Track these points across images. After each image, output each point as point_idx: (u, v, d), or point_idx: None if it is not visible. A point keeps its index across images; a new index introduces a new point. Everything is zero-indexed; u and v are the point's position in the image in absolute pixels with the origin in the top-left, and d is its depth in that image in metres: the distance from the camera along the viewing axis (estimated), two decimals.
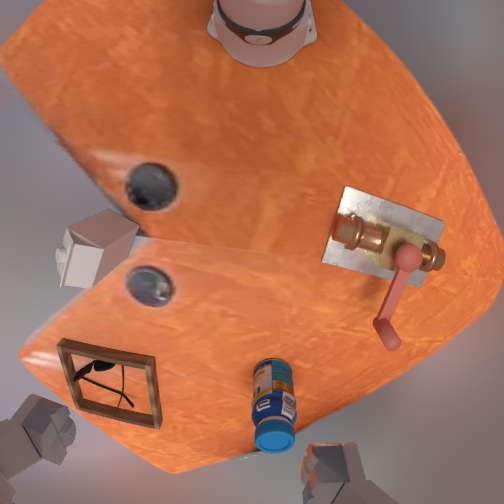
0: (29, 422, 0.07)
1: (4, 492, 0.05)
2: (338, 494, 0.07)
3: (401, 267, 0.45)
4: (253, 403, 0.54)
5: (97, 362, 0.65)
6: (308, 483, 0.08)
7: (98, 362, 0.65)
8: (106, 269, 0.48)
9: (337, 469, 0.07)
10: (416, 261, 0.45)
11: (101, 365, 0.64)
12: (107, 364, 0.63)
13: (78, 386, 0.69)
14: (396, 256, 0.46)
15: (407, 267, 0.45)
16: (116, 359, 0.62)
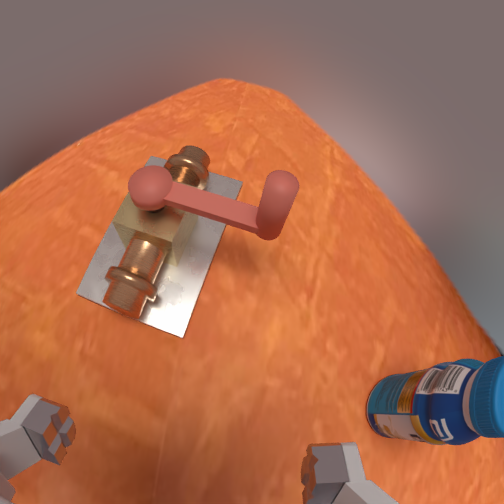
0: (29, 422, 0.07)
1: (4, 492, 0.05)
2: (338, 494, 0.07)
3: (160, 196, 0.29)
4: (439, 443, 0.21)
5: None
6: (308, 483, 0.08)
7: None
8: None
9: (337, 469, 0.07)
10: (155, 174, 0.30)
11: None
12: None
13: None
14: (145, 207, 0.29)
15: (162, 186, 0.29)
16: None
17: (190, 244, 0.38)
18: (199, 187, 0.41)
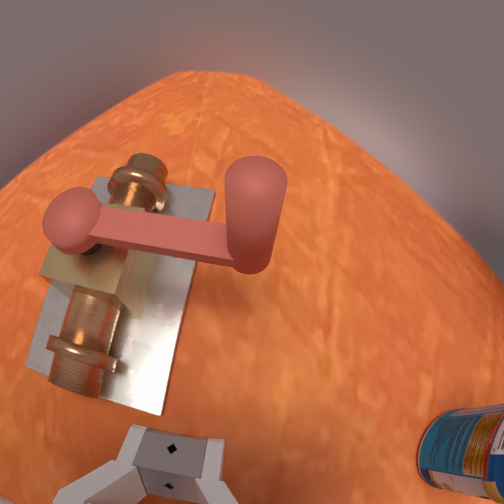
0: (144, 460, 0.07)
1: None
2: (196, 489, 0.07)
3: (82, 231, 0.18)
4: None
5: None
6: None
7: None
8: None
9: (192, 463, 0.07)
10: (77, 199, 0.19)
11: None
12: None
13: None
14: (68, 250, 0.18)
15: (85, 217, 0.18)
16: None
17: (154, 286, 0.27)
18: (157, 206, 0.30)
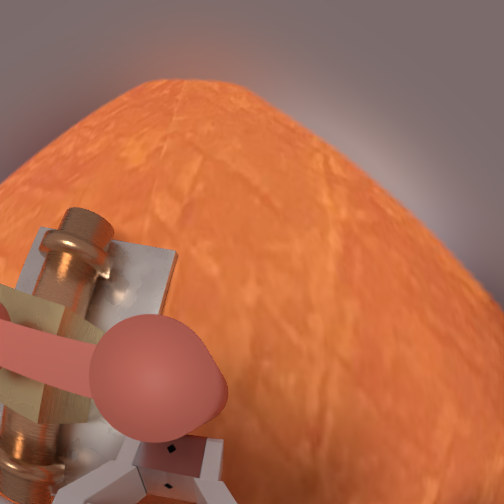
0: (143, 460, 0.07)
1: None
2: (195, 489, 0.07)
3: None
4: None
5: None
6: None
7: None
8: None
9: (191, 462, 0.07)
10: None
11: None
12: None
13: None
14: None
15: None
16: None
17: None
18: (102, 277, 0.22)
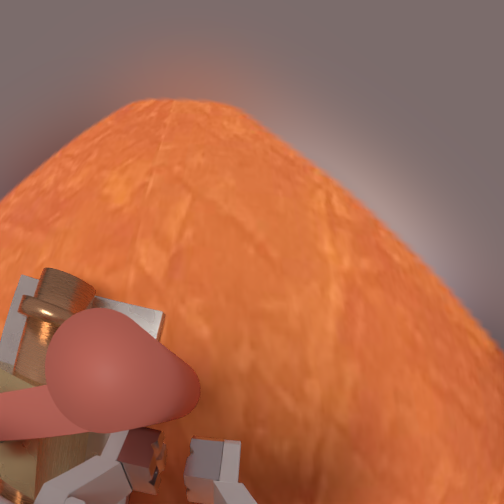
0: (127, 456, 0.07)
1: None
2: (213, 491, 0.07)
3: None
4: None
5: None
6: None
7: None
8: None
9: (210, 465, 0.07)
10: None
11: None
12: None
13: None
14: None
15: None
16: None
17: (92, 447, 0.17)
18: None
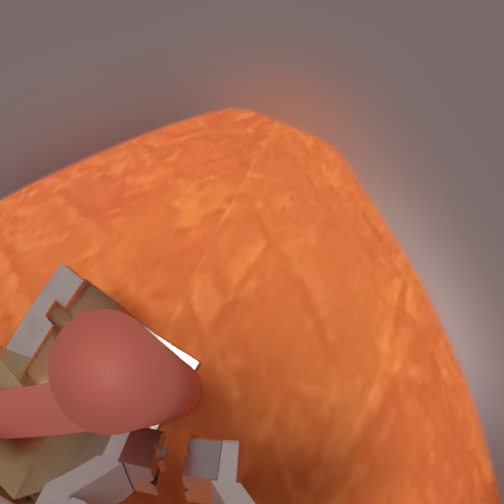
0: (129, 456, 0.07)
1: None
2: (212, 491, 0.07)
3: None
4: None
5: None
6: None
7: None
8: None
9: (208, 465, 0.07)
10: None
11: None
12: None
13: None
14: None
15: None
16: None
17: (84, 459, 0.16)
18: None
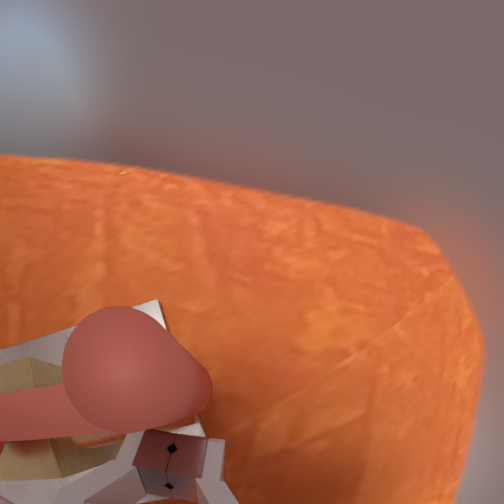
0: (143, 460, 0.07)
1: None
2: (196, 490, 0.07)
3: None
4: None
5: None
6: None
7: None
8: None
9: (193, 463, 0.07)
10: None
11: None
12: None
13: None
14: None
15: None
16: None
17: None
18: None
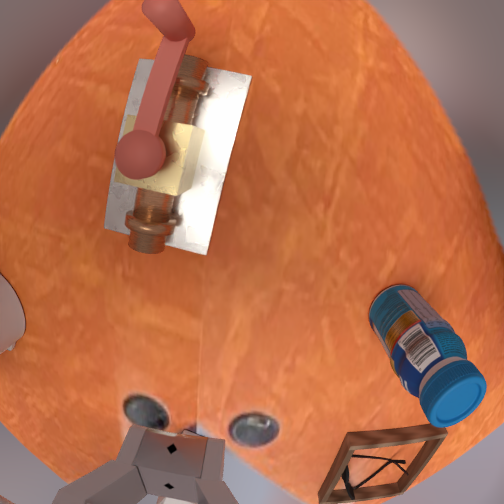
0: (143, 460, 0.07)
1: None
2: (196, 489, 0.07)
3: (153, 139, 0.25)
4: None
5: (343, 475, 0.52)
6: None
7: (343, 474, 0.52)
8: None
9: (192, 463, 0.07)
10: (125, 151, 0.25)
11: (344, 476, 0.50)
12: (345, 472, 0.50)
13: (379, 487, 0.55)
14: (163, 155, 0.26)
15: (141, 139, 0.25)
16: (339, 469, 0.48)
17: (201, 162, 0.35)
18: (200, 94, 0.32)
